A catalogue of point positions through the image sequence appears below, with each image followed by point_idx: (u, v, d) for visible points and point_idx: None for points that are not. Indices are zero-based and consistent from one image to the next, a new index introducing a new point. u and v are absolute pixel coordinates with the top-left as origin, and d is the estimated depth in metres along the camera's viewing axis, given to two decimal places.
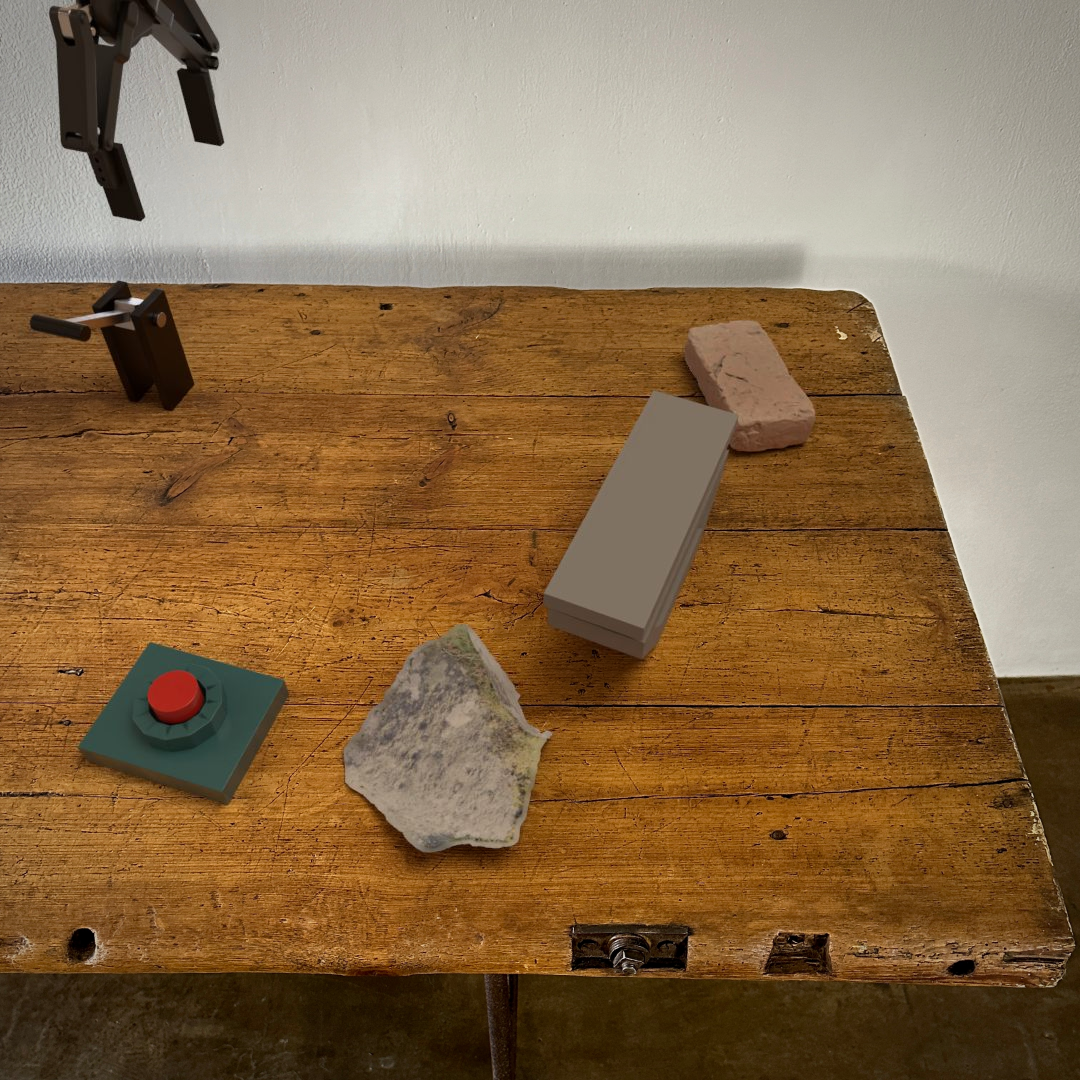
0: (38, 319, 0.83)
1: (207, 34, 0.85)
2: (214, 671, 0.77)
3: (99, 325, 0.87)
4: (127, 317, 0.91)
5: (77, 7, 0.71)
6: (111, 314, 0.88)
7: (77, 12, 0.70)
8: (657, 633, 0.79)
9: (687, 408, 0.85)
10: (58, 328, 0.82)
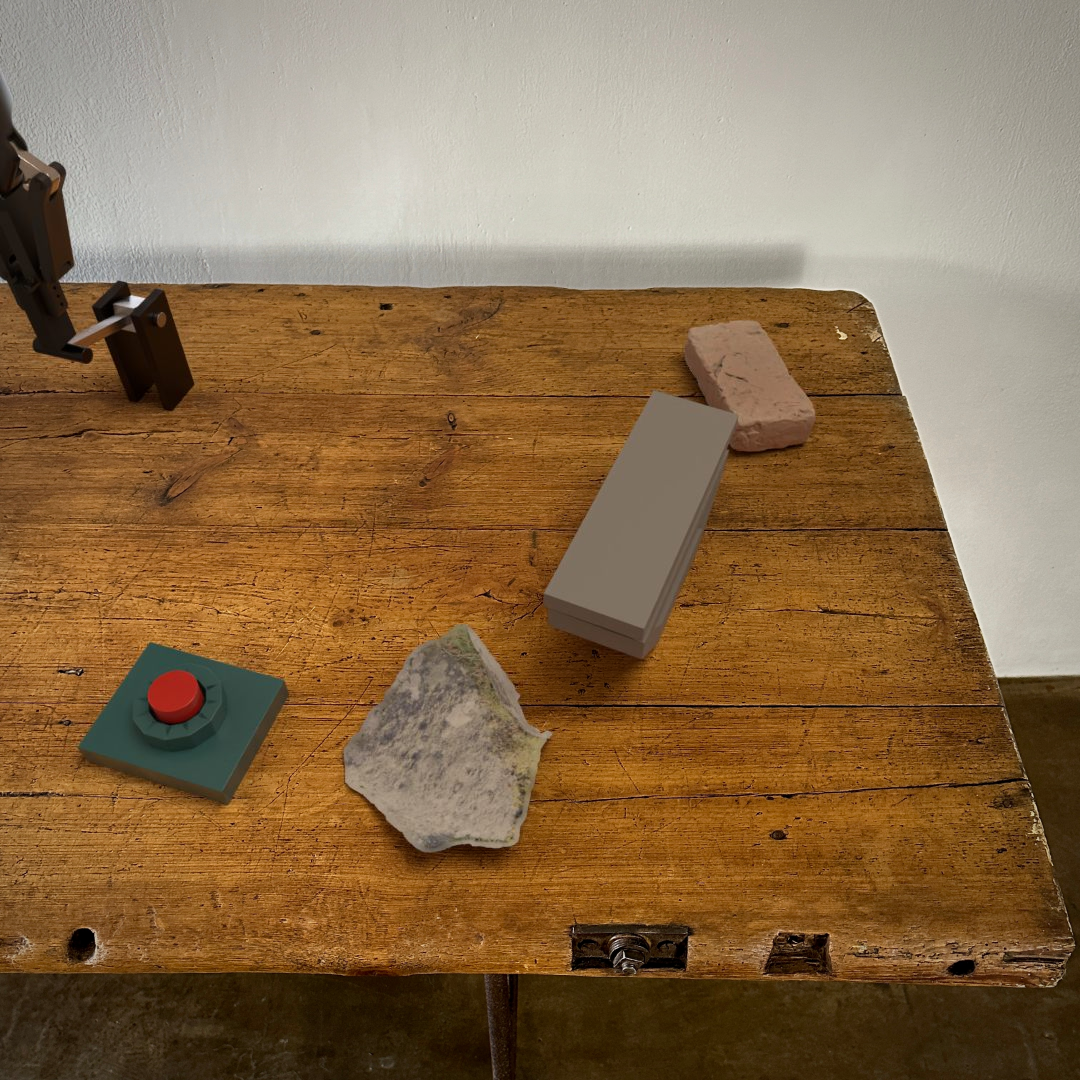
0: None
1: None
2: (214, 671, 0.77)
3: (100, 337, 0.88)
4: (127, 321, 0.91)
5: (39, 162, 0.70)
6: (111, 322, 0.89)
7: (62, 167, 0.70)
8: (657, 633, 0.79)
9: (687, 408, 0.85)
10: (60, 352, 0.83)
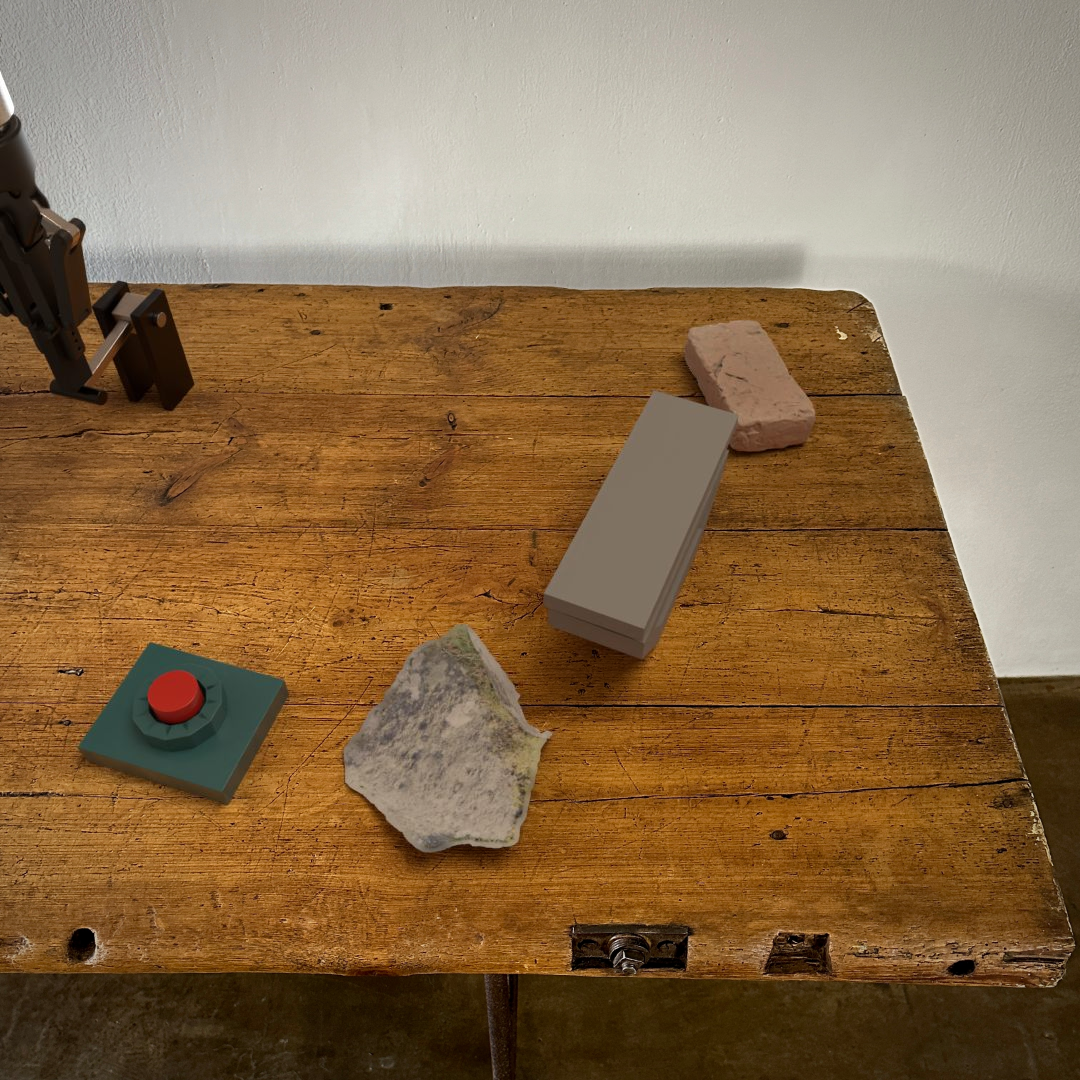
0: (56, 390, 0.87)
1: None
2: (214, 671, 0.77)
3: (109, 360, 0.89)
4: (130, 328, 0.91)
5: (60, 219, 0.73)
6: (115, 340, 0.90)
7: (82, 223, 0.74)
8: (657, 633, 0.79)
9: (687, 408, 0.85)
10: (77, 398, 0.87)
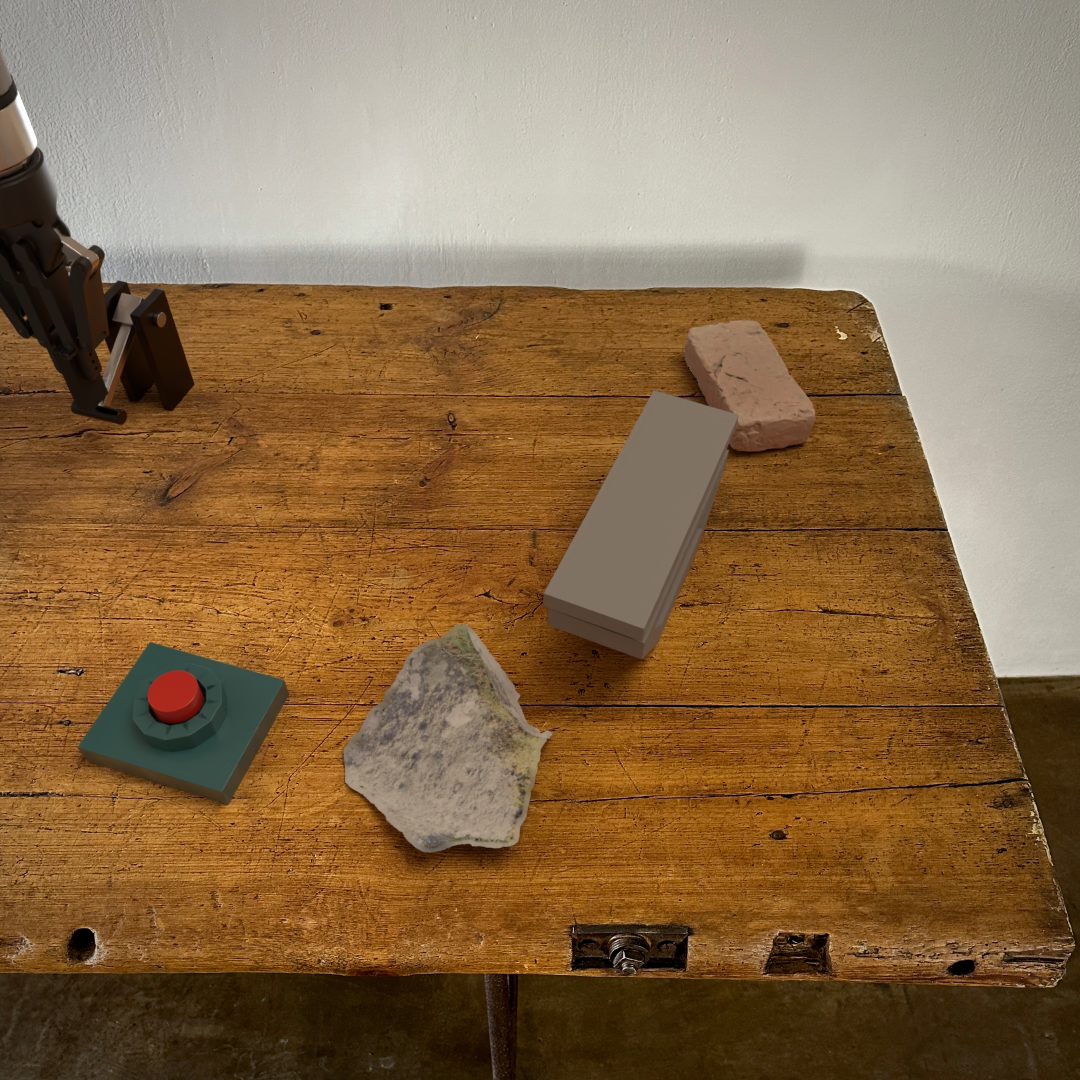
0: (78, 412, 0.90)
1: None
2: (214, 671, 0.77)
3: (120, 371, 0.91)
4: (133, 331, 0.92)
5: (80, 247, 0.76)
6: (121, 350, 0.91)
7: (101, 250, 0.76)
8: (657, 633, 0.79)
9: (687, 408, 0.85)
10: (99, 419, 0.90)
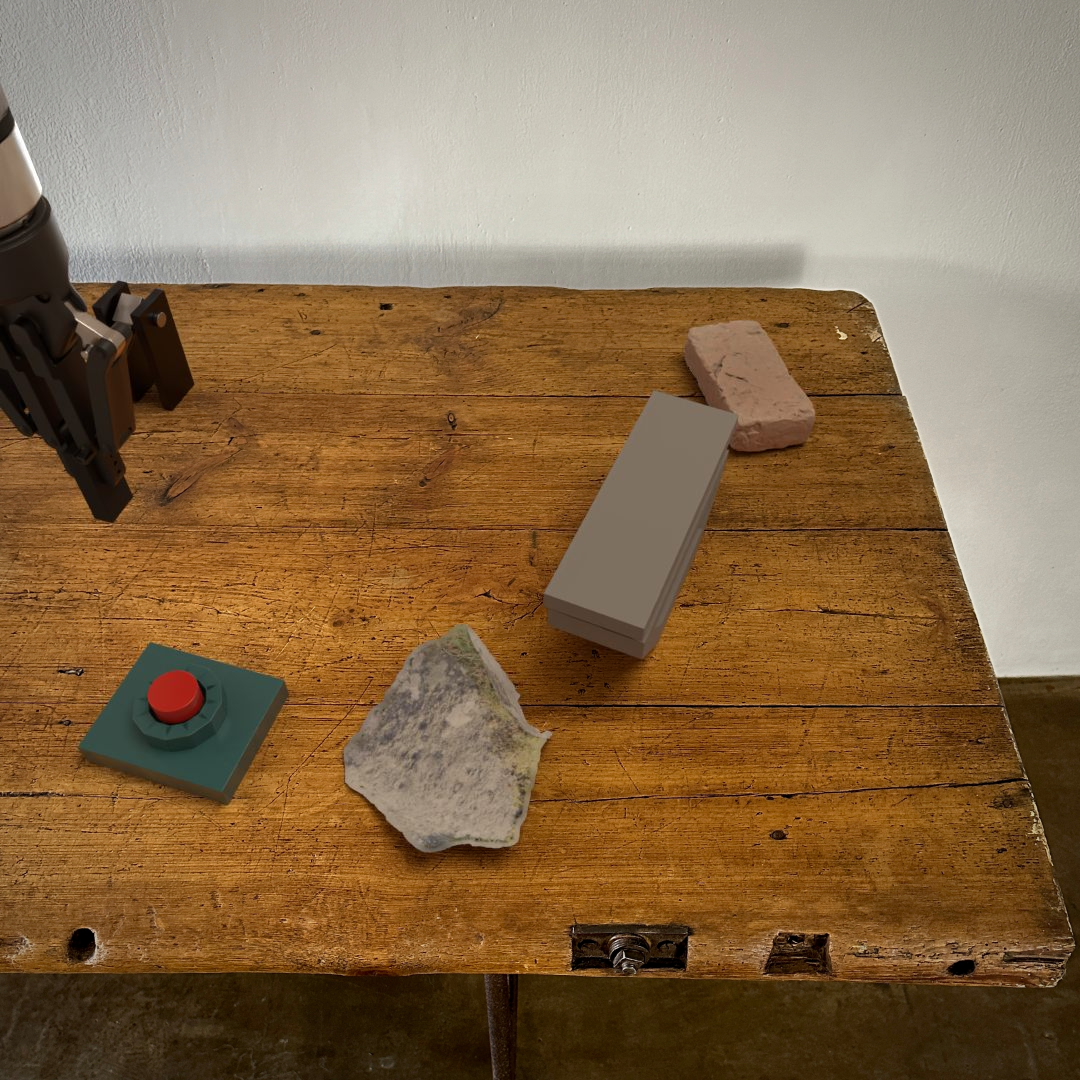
0: None
1: None
2: (214, 671, 0.77)
3: None
4: (133, 331, 0.92)
5: (100, 326, 0.57)
6: None
7: (128, 329, 0.58)
8: (657, 633, 0.79)
9: (687, 408, 0.85)
10: None
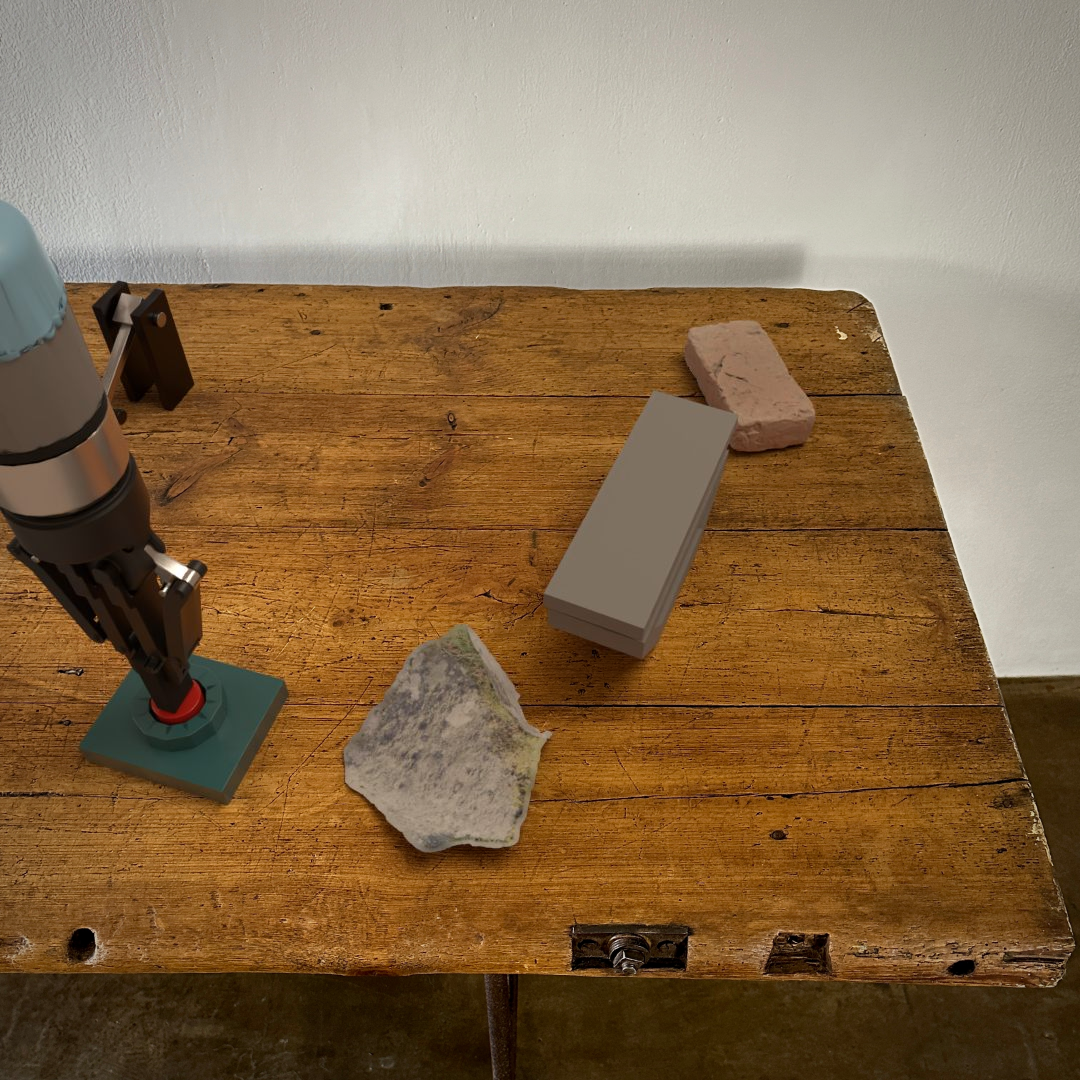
0: None
1: None
2: (214, 671, 0.77)
3: (120, 371, 0.91)
4: (133, 331, 0.92)
5: (178, 566, 0.59)
6: (121, 350, 0.91)
7: (204, 566, 0.60)
8: (657, 633, 0.79)
9: (687, 408, 0.85)
10: None
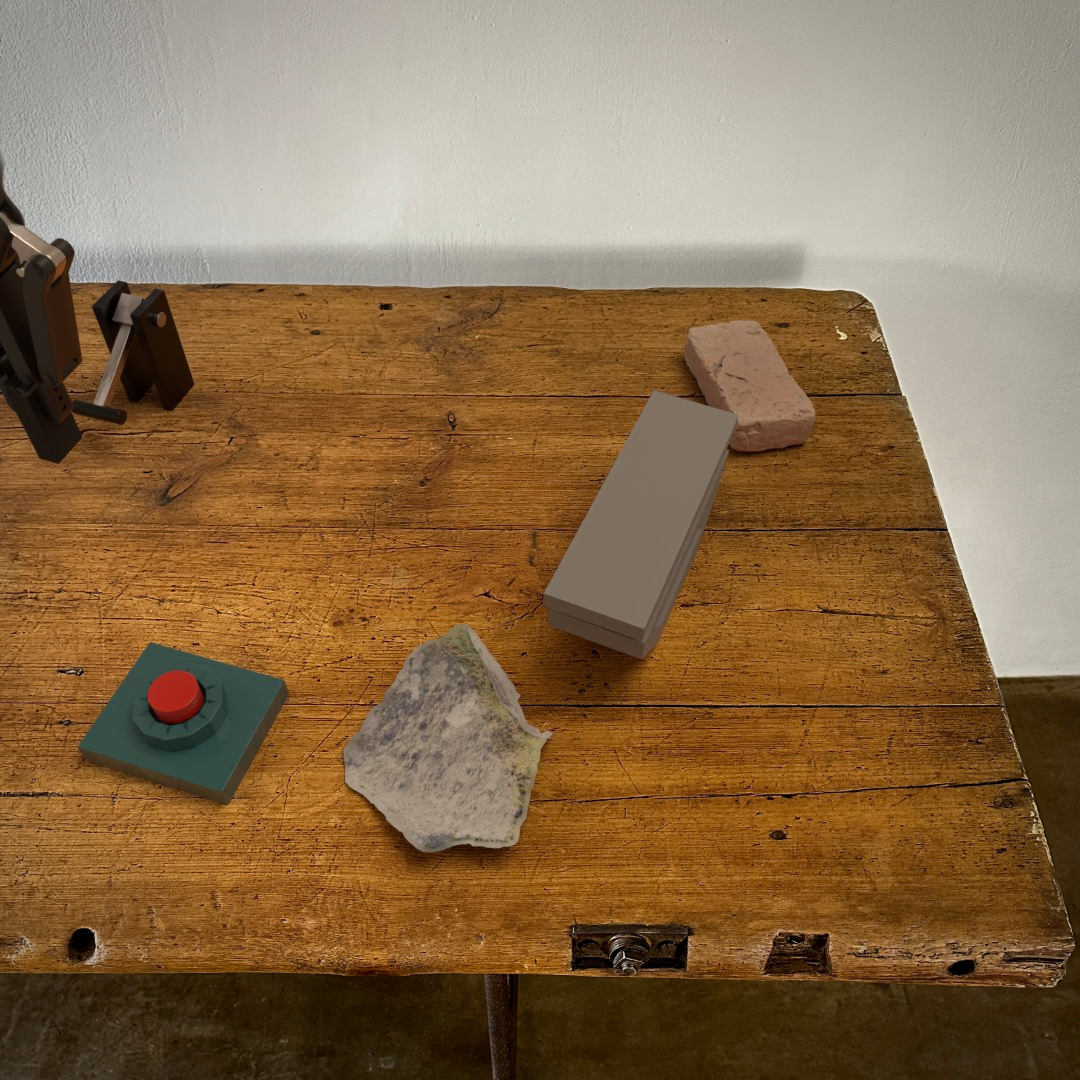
0: (78, 412, 0.90)
1: None
2: (214, 671, 0.77)
3: (120, 371, 0.91)
4: (133, 331, 0.92)
5: (38, 241, 0.52)
6: (121, 350, 0.91)
7: (69, 246, 0.53)
8: (657, 633, 0.79)
9: (687, 408, 0.85)
10: (99, 419, 0.90)
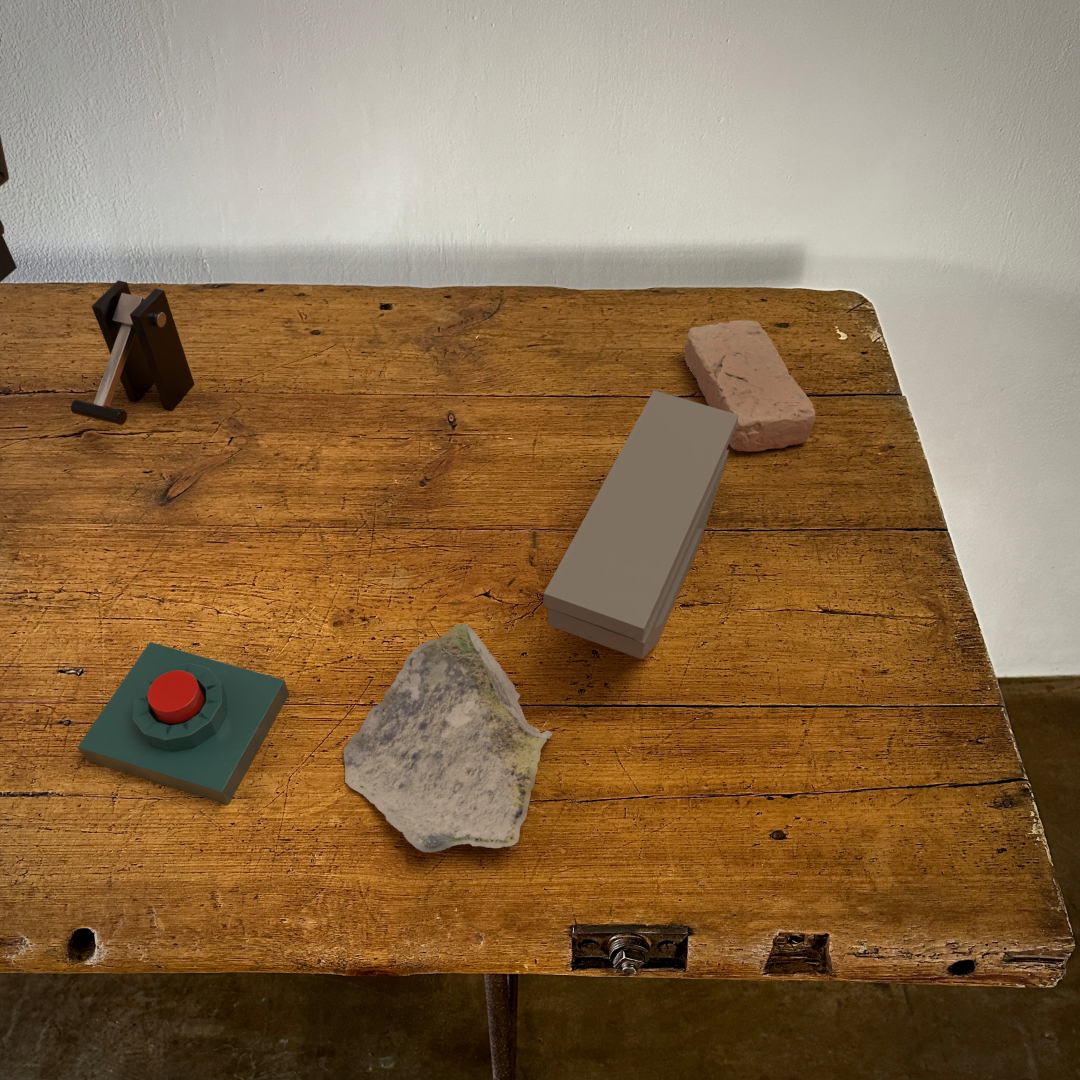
0: (78, 412, 0.90)
1: None
2: (214, 671, 0.77)
3: (120, 371, 0.91)
4: (133, 331, 0.92)
5: None
6: (121, 350, 0.91)
7: None
8: (657, 633, 0.79)
9: (687, 408, 0.85)
10: (99, 419, 0.90)
